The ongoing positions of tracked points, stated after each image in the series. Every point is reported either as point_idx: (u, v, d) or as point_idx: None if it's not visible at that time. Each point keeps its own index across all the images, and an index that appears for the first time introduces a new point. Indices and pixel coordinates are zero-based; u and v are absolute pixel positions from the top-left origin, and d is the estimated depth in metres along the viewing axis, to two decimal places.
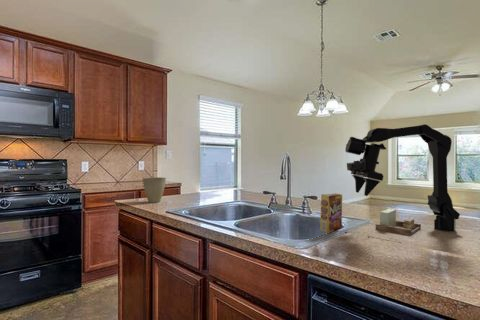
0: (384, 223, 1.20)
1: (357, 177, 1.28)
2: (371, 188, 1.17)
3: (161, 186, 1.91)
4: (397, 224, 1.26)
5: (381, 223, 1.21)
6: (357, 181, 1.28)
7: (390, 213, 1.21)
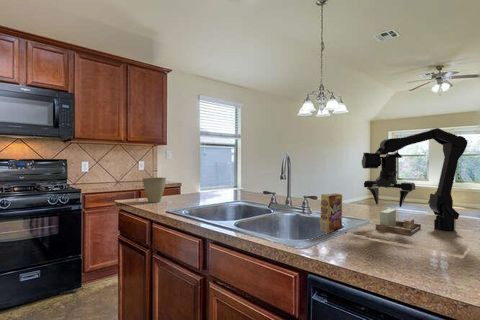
0: (384, 223, 1.20)
1: (375, 189, 1.26)
2: (404, 198, 1.20)
3: (161, 186, 1.91)
4: (397, 224, 1.26)
5: (381, 223, 1.21)
6: (375, 193, 1.26)
7: (390, 213, 1.21)
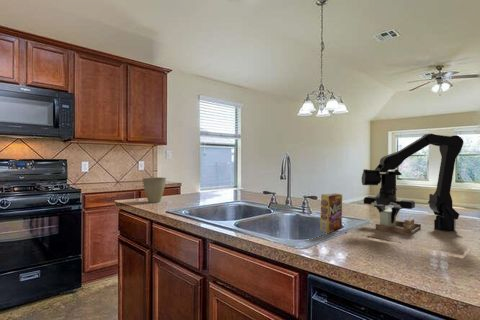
0: (384, 223, 1.20)
1: (381, 207, 1.24)
2: (396, 215, 1.22)
3: (161, 186, 1.91)
4: (397, 224, 1.26)
5: (381, 223, 1.21)
6: None
7: (390, 213, 1.21)
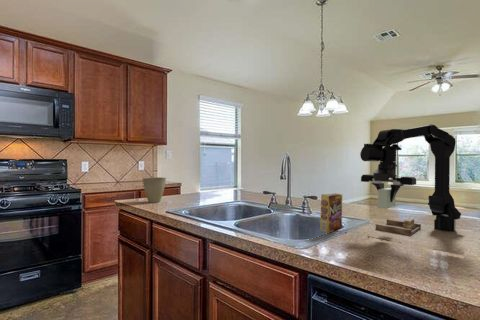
0: (382, 201, 1.11)
1: (380, 184, 1.15)
2: (395, 193, 1.13)
3: (161, 186, 1.91)
4: (397, 224, 1.26)
5: (379, 201, 1.12)
6: None
7: (389, 191, 1.12)
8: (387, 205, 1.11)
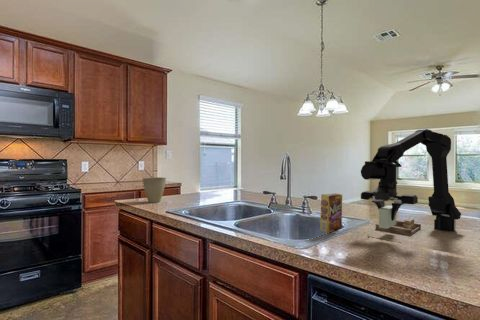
0: (383, 221, 1.08)
1: (380, 202, 1.12)
2: (396, 211, 1.10)
3: (161, 186, 1.91)
4: (397, 224, 1.26)
5: (380, 221, 1.09)
6: (381, 207, 1.12)
7: (390, 210, 1.09)
8: (388, 225, 1.08)
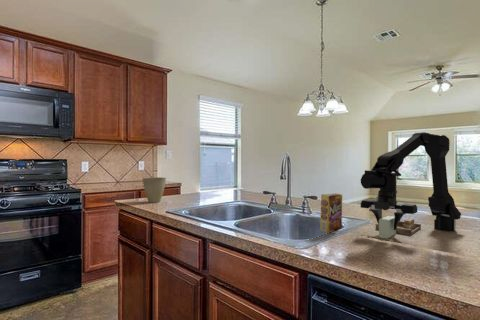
0: (383, 232, 1.08)
1: (378, 211, 1.13)
2: (399, 221, 1.10)
3: (161, 186, 1.91)
4: None
5: (380, 232, 1.09)
6: (379, 215, 1.13)
7: (390, 221, 1.09)
8: (388, 236, 1.08)
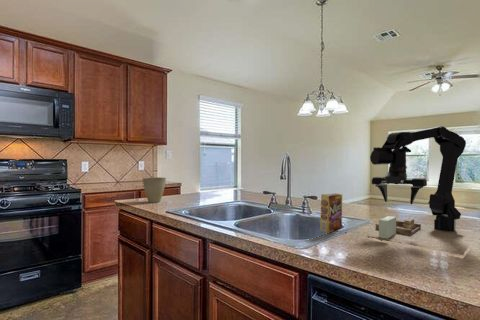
0: (383, 232, 1.08)
1: (383, 186, 1.19)
2: (415, 195, 1.13)
3: (161, 186, 1.91)
4: (397, 224, 1.26)
5: (380, 232, 1.09)
6: (384, 190, 1.19)
7: (390, 221, 1.09)
8: (388, 236, 1.08)
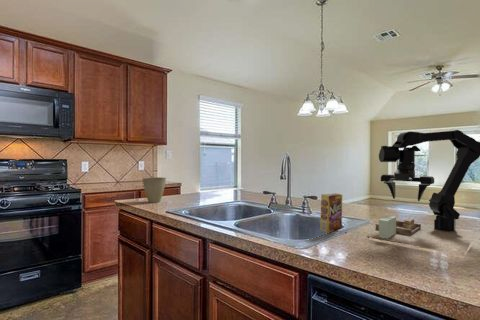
0: (383, 232, 1.08)
1: (392, 183, 1.24)
2: (422, 192, 1.18)
3: (161, 186, 1.91)
4: (397, 224, 1.26)
5: (380, 232, 1.09)
6: (393, 187, 1.24)
7: (390, 221, 1.09)
8: (388, 236, 1.08)
